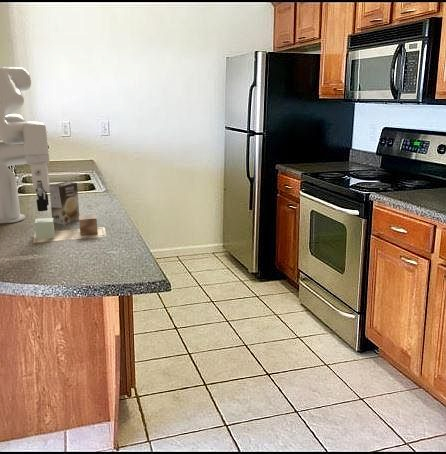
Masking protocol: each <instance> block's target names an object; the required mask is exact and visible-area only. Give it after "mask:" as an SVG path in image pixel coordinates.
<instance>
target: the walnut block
mask: <svg viewBox="0 0 446 454" xmlns="http://www.w3.org/2000/svg"><path fill="white" fill-rule="evenodd" d="M78 222H79V229H80V234H81V236H86V235H98V231H97V228H98V218H97V214H86V215H85V214H84V215H80V216H79V220H78Z"/></svg>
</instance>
